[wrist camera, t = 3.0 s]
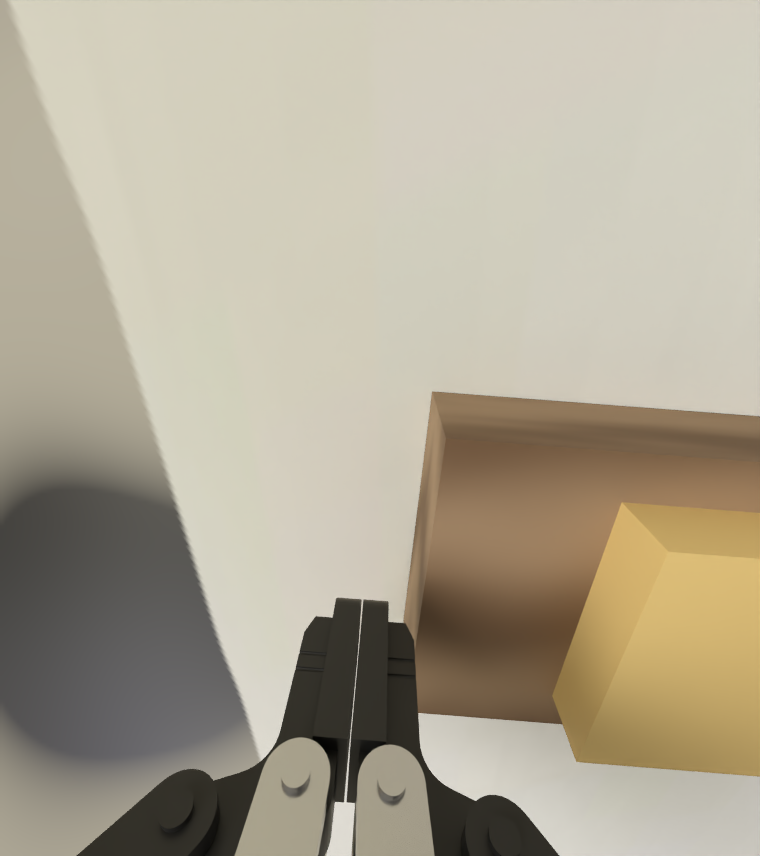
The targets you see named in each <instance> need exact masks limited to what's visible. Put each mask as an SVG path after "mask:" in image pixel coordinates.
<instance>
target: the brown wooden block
mask: <svg viewBox="0 0 760 856" xmlns="http://www.w3.org/2000/svg"><path fill="white" fill-rule="evenodd" d="M622 502H623V503H636V504H649V505H662V506H675V507H688V508H701V509H714V510H727V511H740V512H753V513H760V417H758V416H745V415H731V414H718V413H705V412H692V411H679V410H666V409H652V408H639V407H626V406H613V405H600V404H587V403H573V402H560V401H547V400H534V399H521V398H508V397H495V396H481V395H468V394H455V393H442V392H432V398H431V406H430V414H429V422H428V430H427V438H426V446H425V454H424V462H423V470H422V478H421V486H420V494H419V502H418V510H417V518H416V526H415V534H414V542H413V550H412V558H411V566H410V574H409V582H408V590H407V598H406V606H405V614H404V623H406V625H407V627H408V629H409V631H410V633H411V635H412V637H413V639H414V647H415V666H416V685H417V704H418V713H427V714H440V715H452V716H465V717H478V718H490V719H503V720H516V721H528V722H541V723H553V724H562V721H561V718H560V716H559V713H558V710H557V707H556V705H555V702H554V699H553V696H552V695H553V692H554V689H555V687H556V684H557V681H558V678H559V675H560V673H561V670H562V667H563V664H564V661H565V659H566V656H567V653H568V650H569V648H570V645H571V642H572V639H573V636H574V634H575V631H576V628H577V625H578V623H579V620H580V617H581V614H582V611H583V609H584V606H585V603H586V600H587V598H588V595H589V592H590V589H591V586H592V584H593V581H594V578H595V575H596V573H597V570H598V567H599V564H600V561H601V559H602V556H603V553H604V550H605V548H606V545H607V542H608V539H609V536H610V534H611V531H612V528H613V525H614V522H615V520H616V517H617V514H618V511H619V509H620V506H621V503H622Z"/></svg>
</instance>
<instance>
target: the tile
mask: <svg viewBox="0 0 760 856" xmlns="http://www.w3.org/2000/svg"><path fill="white" fill-rule="evenodd" d="M552 696H553V699H554V702H555V705H556V707H557V710H558V713H559V716H560V718H561V721H562V724H563V726H564V729H565V732H566V735H567V737H568V740H569V743H570V746H571V748H572V751H573V754H574V757H575V759H576V762H584V763H597V764H609V765H622V766H635V767H647V768H660V769H672V770H685V771H697V772H710V773H723V774H735V775H748V776H760V513H753V512H740V511H727V510H714V509H701V508H688V507H675V506H662V505H649V504H636V503H623V502H622V503H621V506H620V509H619V511H618V514H617V517H616V520H615V522H614V525H613V528H612V531H611V534H610V536H609V539H608V542H607V545H606V548H605V550H604V553H603V556H602V559H601V561H600V564H599V567H598V570H597V573H596V575H595V578H594V581H593V584H592V586H591V589H590V592H589V595H588V598H587V600H586V603H585V606H584V609H583V611H582V614H581V617H580V620H579V623H578V625H577V628H576V631H575V634H574V636H573V639H572V642H571V645H570V648H569V650H568V653H567V656H566V659H565V661H564V664H563V667H562V670H561V673H560V675H559V678H558V681H557V684H556V687H555V689H554V692H553V695H552Z"/></svg>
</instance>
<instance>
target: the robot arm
mask: <svg viewBox="0 0 760 856" xmlns="http://www.w3.org/2000/svg"><path fill="white" fill-rule="evenodd" d="M360 614H361V600H360V599H348V598H336V603H335V608H334V614H333V618H329V617H317V616H316V617H315V618H314V620H313V621H312V622H311V624H310V625H309V626H308V628H307V629H306V630H305V632H304V636H303V640H302V644H301V648H300V654H299V657H298V661H297V665H296V670H295V673H294V677H293V681H292V685H291V689H290V694H289V698H288V702H287V706H286V710H285V714H284V718H283V722H282V727H281V731H280V734H279V737H278V739H277V741H276V743H275V745H274V747H273V748H272V750H271V751H270V752H269V754H268V755H267V756H266V757H265V758H264V759H263V760H262V761H261V762H259V763H258V764H257V765H255V766H254V767H252V768H250V769H248V770H246V771H243V772H240V773H237V774H234V775H231V776H228V777H224V778H221V779H218V780H215V781H213V779H211V777H210V776H209V775H208V774H206V773H205V772H203V771H201V770H196V769H187V770H183V771H180V772H177V773H175V774H173V775H171V776H169V777H168V778H166V779H165V780H164V781H162V782H161V783H160V784H159V785H157V786H156V787H155V788H154V789H153V790H152V791H151V792H149V793H148V794H147V795H146V796H145V797H144V798H143V799H141V800H140V801H139V802H138V803H137V804H136V805H134V806H133V807H132V808H131V809H130V810H129V811H128V812H127V813H125V814H124V815H123V816H122V817H121V818H120V819H118V820H117V821H116V822H115V823H114V824H113V825H112V826H110V827H109V828H108V829H107V830H106V831H105V832H103V833H102V834H101V835H100V836H99V837H98V838H96V839H95V840H94V841H93V842H92V843H91V844H90V845H88V846H87V847H86V848H85V849H84V850H83V851H82V852H80V853H79V854H78V855H77V856H326V854H327V850H328V847H329V843H330V838H331V831H332V822H333V813H334V803H335V802H344V794H345V784H346V773H347V762H348V752H349V741H350V730H351V719H352V709H353V698H354V687H355V676H356V666H357V655H358V643H359V629H360ZM347 802H350V803H355V813H354V827H353V842H352V856H559V855H558V854H557V852H556V851H555V850H554V849H553V847H552V846H551V845H550V844H549V842H548V841H547V840H546V839H545V837H544V836H543V835H542V834H541V833H540V831H539V830H538V829H537V828H536V826H535V825H534V824H533V823H532V821H531V820H530V819H529V818H528V816H527V815H526V814H525V813H524V812H523V811H522V810H521V808H519V807H518V806H517V805H516V804H515V803H513V802H512V801H510V800H509V799H506V798H504V797H502V796H497V795H488V796H484V797H482V798H480V799H478V800H477V801H474V800H472V799H470V798H468V797H466V796H464V795H462V794H460V793H458V792H456V791H454V790H452V789H450V788H449V787H447V786H445V785H444V784H442V783H441V782H440V781H439V780H438V779H437V778H436V777H435V776H434V775H433V774H432V773H431V771H430V770H429V768H428V767H427V765H426V763H425V761H424V758H423V756H422V752H421V749H420V741H419V722H418V704H417V685H416V666H415V647H414V639H413V637H412V635H411V633H410V631H409V629H408V627H407V625H406V623H394V622H388V601H375V600H364V601H363V612H362V623H361V634H360V645H359V656H358V667H357V678H356V689H355V701H354V712H353V723H352V734H351V747H350V762H349V776H348V791H347Z"/></svg>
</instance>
